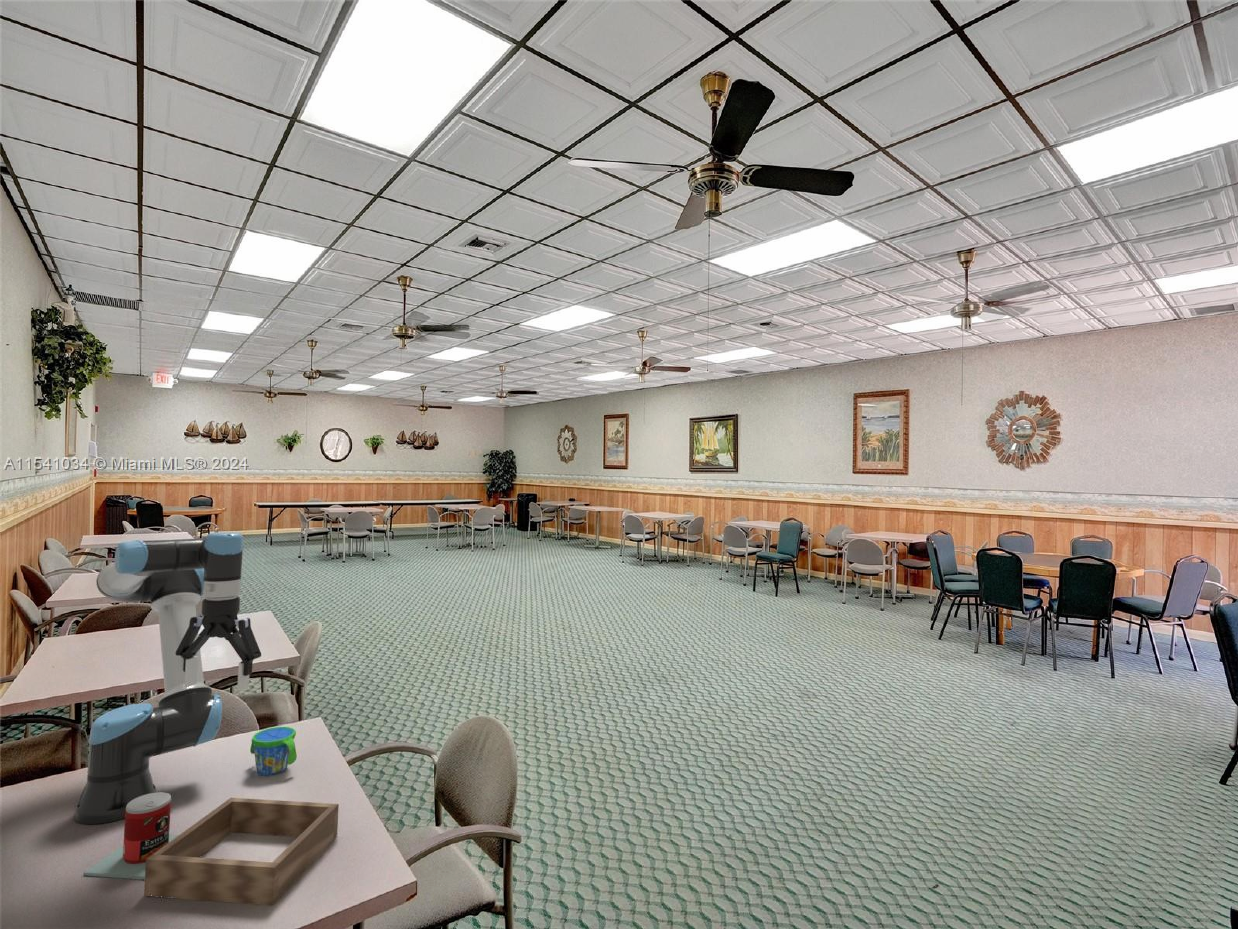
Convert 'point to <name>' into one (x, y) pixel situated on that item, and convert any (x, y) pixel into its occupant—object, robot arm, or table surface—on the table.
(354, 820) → the table surface
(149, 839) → the canned food
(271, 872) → the frame
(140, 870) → the mat
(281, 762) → the snack cup
